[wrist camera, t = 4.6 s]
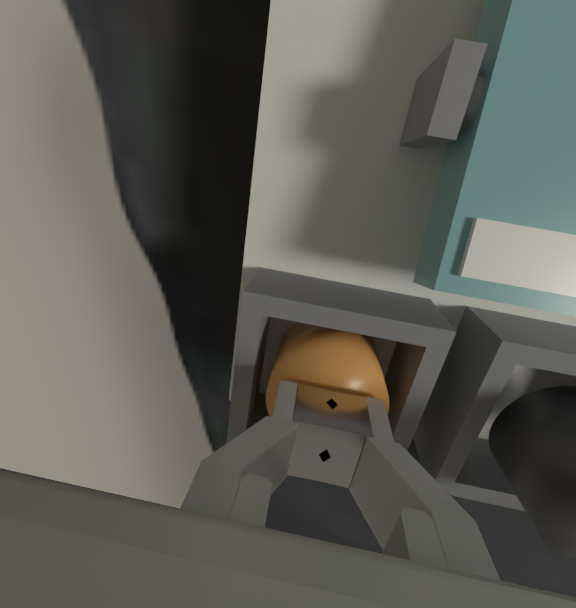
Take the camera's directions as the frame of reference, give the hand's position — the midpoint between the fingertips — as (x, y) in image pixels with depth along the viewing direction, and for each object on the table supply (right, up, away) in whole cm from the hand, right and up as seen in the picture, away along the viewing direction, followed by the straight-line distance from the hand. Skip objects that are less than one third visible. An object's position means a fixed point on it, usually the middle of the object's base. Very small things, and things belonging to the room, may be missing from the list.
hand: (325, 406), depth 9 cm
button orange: (0, +1, +2) cm, 3 cm away
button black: (+7, -1, 0) cm, 7 cm away
